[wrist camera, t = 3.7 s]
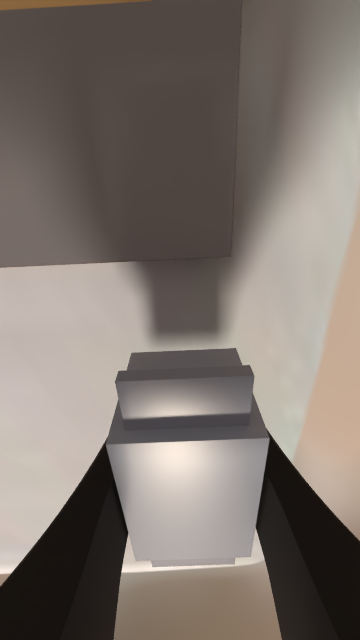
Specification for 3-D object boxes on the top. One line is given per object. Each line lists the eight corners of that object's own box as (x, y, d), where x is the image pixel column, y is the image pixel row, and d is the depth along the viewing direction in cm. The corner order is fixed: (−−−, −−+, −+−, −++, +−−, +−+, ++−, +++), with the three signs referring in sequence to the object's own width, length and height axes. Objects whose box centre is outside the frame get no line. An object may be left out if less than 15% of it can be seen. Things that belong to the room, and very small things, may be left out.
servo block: (150, 476, 13) (140, 581, 10) (125, 315, 9) (92, 394, 6) (228, 473, 13) (247, 577, 10) (238, 310, 9) (278, 386, 6)
